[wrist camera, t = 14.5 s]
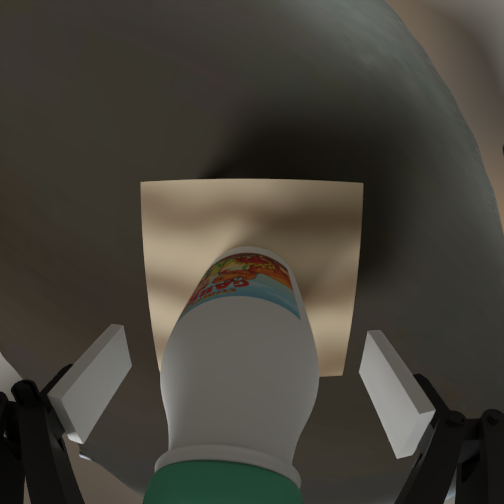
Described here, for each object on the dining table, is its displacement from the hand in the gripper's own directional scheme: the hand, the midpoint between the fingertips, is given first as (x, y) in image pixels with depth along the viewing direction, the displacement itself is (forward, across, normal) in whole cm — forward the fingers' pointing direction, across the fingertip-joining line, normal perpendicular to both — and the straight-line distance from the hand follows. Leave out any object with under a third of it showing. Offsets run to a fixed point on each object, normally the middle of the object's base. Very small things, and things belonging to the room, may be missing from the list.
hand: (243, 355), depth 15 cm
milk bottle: (+10, 0, 0) cm, 10 cm away
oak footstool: (+22, 0, 0) cm, 22 cm away
